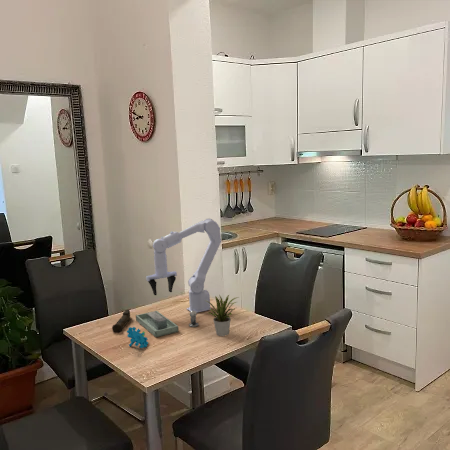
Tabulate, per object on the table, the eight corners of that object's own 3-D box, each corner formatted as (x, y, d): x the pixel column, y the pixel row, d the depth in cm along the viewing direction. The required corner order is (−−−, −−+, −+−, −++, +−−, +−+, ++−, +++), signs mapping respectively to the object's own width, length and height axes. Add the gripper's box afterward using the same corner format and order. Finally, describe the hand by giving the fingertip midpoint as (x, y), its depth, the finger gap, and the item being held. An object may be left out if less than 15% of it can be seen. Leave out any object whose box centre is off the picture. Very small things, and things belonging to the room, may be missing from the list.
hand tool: (121, 333, 193) (120, 323, 192) (112, 333, 194) (111, 323, 193) (135, 317, 212) (134, 308, 211) (127, 317, 212) (126, 308, 212)
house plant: (250, 332, 187) (248, 294, 184) (227, 343, 177) (225, 303, 174) (224, 325, 196) (222, 288, 194) (201, 335, 186) (199, 296, 184)
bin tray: (157, 315, 212) (156, 310, 212) (178, 331, 191) (178, 326, 191) (136, 320, 207) (135, 315, 207) (155, 337, 186) (155, 331, 186)
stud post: (196, 322, 201) (195, 308, 200) (200, 325, 197) (199, 310, 196) (187, 325, 198) (186, 310, 197) (191, 328, 195) (190, 313, 194)
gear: (141, 348, 172) (124, 329, 174) (131, 359, 173) (115, 339, 175) (154, 341, 182) (138, 322, 184) (145, 351, 183) (129, 332, 185)
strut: (155, 319, 205) (154, 311, 205) (167, 328, 194) (166, 319, 193) (147, 321, 203) (146, 313, 203) (158, 330, 192) (157, 321, 191)
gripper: (149, 269, 204) (151, 298, 206) (178, 264, 211) (180, 292, 213) (143, 266, 210) (145, 294, 212) (172, 261, 217) (174, 288, 219)
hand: (162, 293), depth 213 cm, fingers open, 7 cm apart
